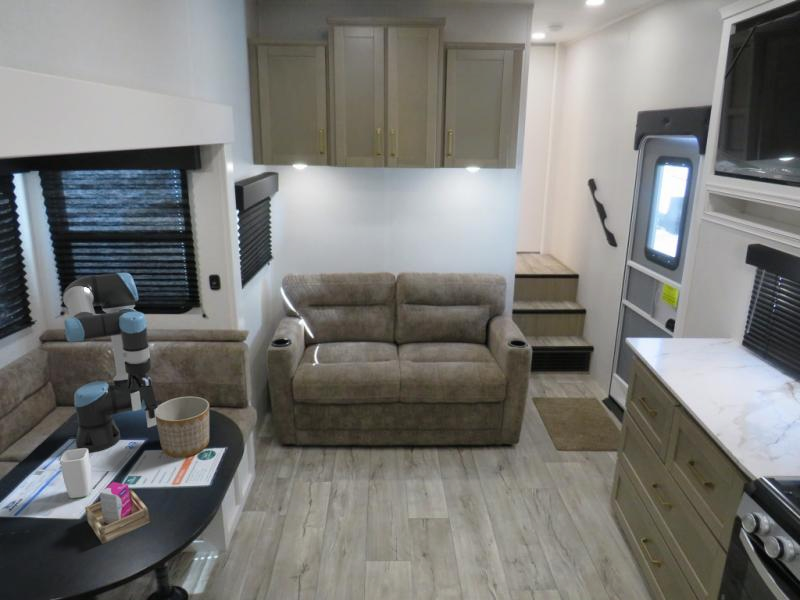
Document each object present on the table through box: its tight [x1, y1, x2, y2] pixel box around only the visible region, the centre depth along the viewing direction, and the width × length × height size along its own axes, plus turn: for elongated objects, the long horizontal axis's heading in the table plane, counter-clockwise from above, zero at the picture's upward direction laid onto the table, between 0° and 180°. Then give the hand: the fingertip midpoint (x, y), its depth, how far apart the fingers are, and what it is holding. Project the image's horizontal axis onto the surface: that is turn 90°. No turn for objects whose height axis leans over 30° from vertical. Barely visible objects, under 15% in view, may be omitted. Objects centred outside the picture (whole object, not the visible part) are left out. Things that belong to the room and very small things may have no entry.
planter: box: [155, 395, 210, 458], centre depth 209 cm, size 19×19×16 cm
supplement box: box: [99, 481, 131, 525], centre depth 168 cm, size 6×6×12 cm
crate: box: [84, 488, 150, 545], centre depth 169 cm, size 14×14×5 cm
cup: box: [59, 448, 92, 499], centre depth 180 cm, size 7×7×15 cm
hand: (144, 417), depth 183 cm, fingers open, 13 cm apart
